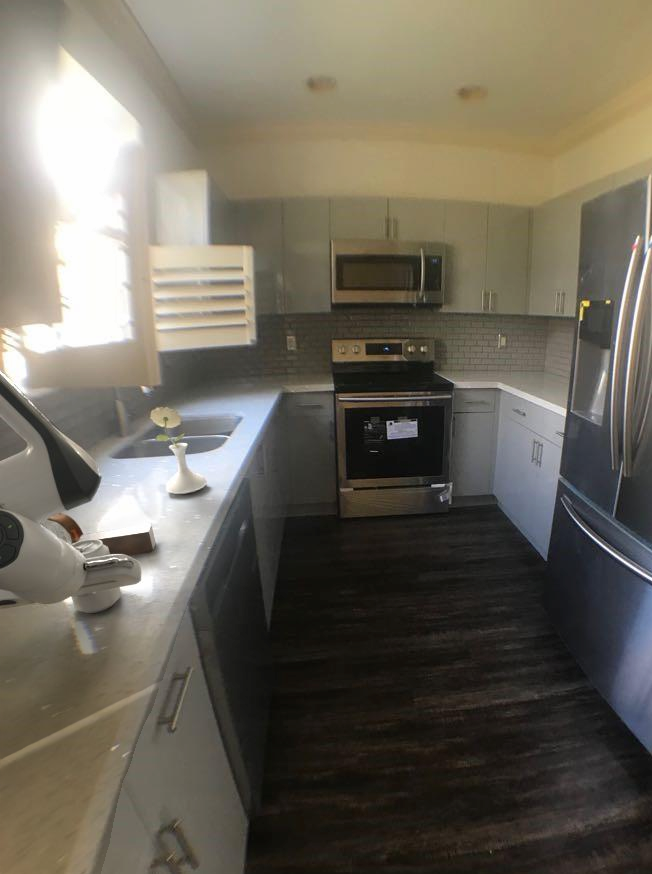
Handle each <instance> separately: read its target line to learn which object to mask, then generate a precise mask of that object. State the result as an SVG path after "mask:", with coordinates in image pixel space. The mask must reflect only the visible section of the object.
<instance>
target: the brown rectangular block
mask: <svg viewBox="0 0 652 874" xmlns="http://www.w3.org/2000/svg"><path fill="white" fill-rule="evenodd" d="M154 533H155V532H154V530H153V525H152V523H147V524H142V525H135V526H129V527H122V528H117V529H116V528H115V529H110V530H103V531H96V532H89V533H83V535H81V537H80V538H79V540H78V541H77V542H79V541H83V540H88V539H98V540H101V541H102V543H103V545H105V546H107V547H108V549H109V552H110V555H113V554H123V555H127V556H134V555H139V554H145V553H151V552H155V548H156V544H157V542H156V538H155V534H154Z"/></svg>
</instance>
